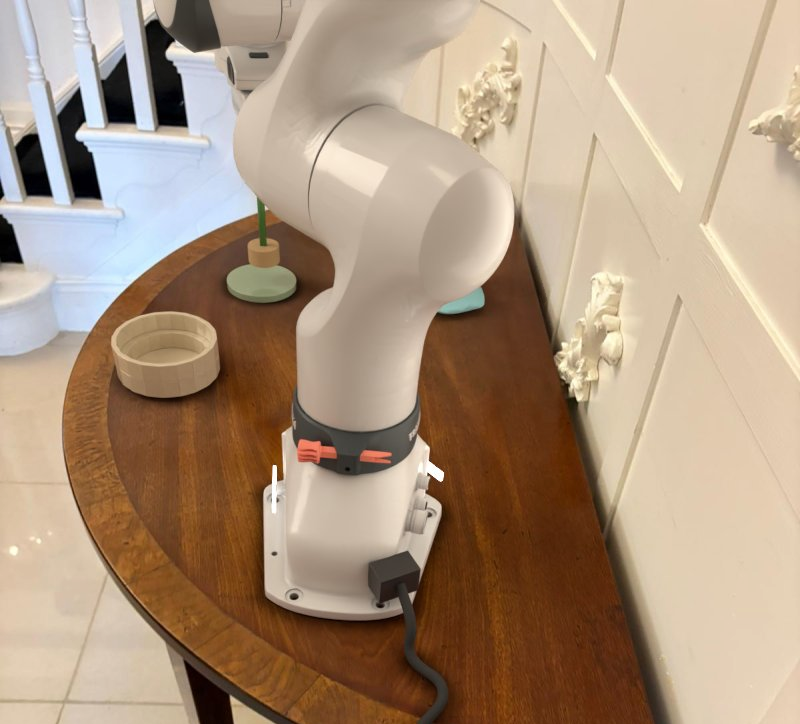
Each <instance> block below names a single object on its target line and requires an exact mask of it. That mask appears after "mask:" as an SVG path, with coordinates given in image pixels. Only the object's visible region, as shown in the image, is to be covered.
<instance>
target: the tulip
mask: <svg viewBox="0 0 800 724" xmlns="http://www.w3.org/2000/svg"><path fill="white" fill-rule="evenodd" d="M256 206H257V223H258V236H259V237H257V238H254V239H251V240H250V241H248V242H247V255H248V262H249V264H251V265H253V266H255V267H259V268H270V267H274V266H276V265H278V266H279V264H280V262H281V257H280V256H281V255H280V244H279V242H278V240H276V239H273V238H269V237H267V221H266V220H267V219H266V206H265V205H264V204H263V203H262V202H261V201H260V200H259V198H258V197H257V196H256Z"/></svg>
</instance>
